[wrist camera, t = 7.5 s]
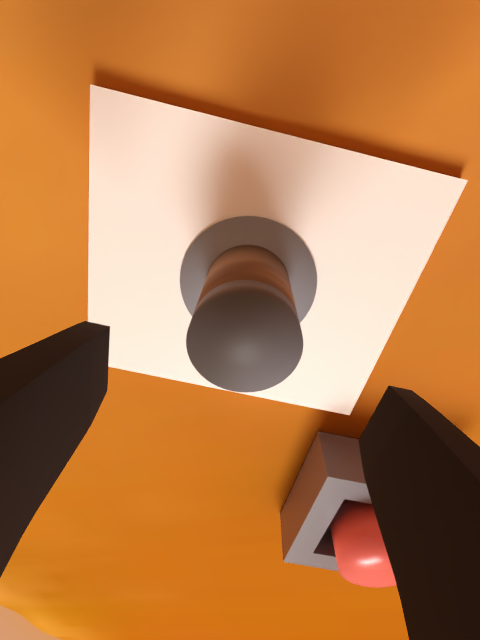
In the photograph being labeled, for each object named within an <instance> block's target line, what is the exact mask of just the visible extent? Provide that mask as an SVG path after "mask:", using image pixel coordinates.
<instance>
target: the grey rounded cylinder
mask: <svg viewBox="0 0 480 640" xmlns="http://www.w3.org/2000/svg"><path fill="white" fill-rule="evenodd" d="M186 348H187V353H188V356H189V359H190V361H191V363H192V364H193V366H194V367H195V369H196V370H197V371H198V372H199V374H200V375H201V376H202V377H204V378H205V379H206V380H207V381H209V382H211V383H212V384H214V385H216V386H218V387H220V388H223V389H226V390H230V391H235V392H257V391H262V390H266V389H269V388H271V387H274V386H275V385H277V384H279V383H281V382H282V381H284V380H285V379H286V378H287V377H288V376H290V375H291V373H292V372H293V371H294V370H295V368H296V367H297V365H298V363H299V361H300V359H301V356H302V352H303V335H302V331H301V326H300V322H299V318H298V314H297V310H296V306H295V301H294V297H293V293H292V289H291V285H290V281H289V276H288V273H287V270H286V268H285V266H284V264H283V262H282V261H281V260H280V259H279V258H278V256H276V255H275V254H274V253H273V252H271V251H269V250H268V249H266V248H263V247H260V246H256V245H239V246H235V247H232V248H230V249H228V250H226V251H224V252H223V253H222V254H220V255H219V256H218V257H217V258H216V259H215V261H214V262H213V263H212V265H211V267H210V269H209V272H208V275H207V277H206V280H205V283H204V286H203V288H202V291H201V294H200V297H199V299H198V302H197V305H196V308H195V311H194V313H193V316H192V319H191V322H190V324H189V327H188V331H187V335H186Z"/></svg>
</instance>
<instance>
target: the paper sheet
mask: <svg viewBox="0 0 480 640" xmlns="http://www.w3.org/2000/svg"><path fill="white" fill-rule="evenodd" d="M467 181H468V180H464V179H460V178H456V177H452V176H448V175H444V174H440V173H436V172H432V171H428V170H424V169H421V168H417V167H413V166H409V165H405V164H401V163H397V162H393V161H389V160H385V159H381V158H377V157H373V156H370V155H366V154H362V153H358V152H354V151H350V150H346V149H342V148H338V147H334V146H330V145H326V144H322V143H319V142H315V141H311V140H307V139H303V138H299V137H295V136H291V135H287V134H283V133H279V132H275V131H271V130H268V129H264V128H260V127H256V126H252V125H248V124H244V123H240V122H236V121H232V120H228V119H224V118H221V117H217V116H213V115H209V114H205V113H201V112H197V111H193V110H189V109H185V108H181V107H177V106H173V105H170V104H166V103H162V102H158V101H154V100H150V99H146V98H142V97H138V96H134V95H130V94H126V93H122V92H119V91H115V90H111V89H107V88H103V87H99V86H95V85H91V84H90V153H89V260H88V322H92V323H97V324H101V325H106V326H110V339H109V361H108V367H113V368H118V369H123V370H128V371H133V372H138V373H143V374H148V375H153V376H158V377H163V378H168V379H173V380H178V381H182V382H187V383H192V384H197V385H202V386H207V387H212V388H217V389H222V390H226V389H223V388H220V387H218V386H216V385H214V384H212V383H211V382H209V381H207V380H206V379H205V378H204V377H202V376H201V375H200V374H199V372H198V371H197V370H196V369H195V367H194V366H193V364H192V363H191V361H190V359H189V356H188V353H187V348H186V335H187V331H188V327H189V324H190V322H191V319H192V316H193V313H194V311H195V308H196V305H197V302H198V299H199V297H200V294H201V291H202V288H203V286H204V283H205V280H206V277H207V275H208V272H209V269H210V267H211V265H212V263H213V262H214V261H215V259H216V258H217V257H218V256H219V255H220V254H222V253H223V252H224V251H226V250H228V249H230V248H232V247H235V246H239V245H256V246H260V247H263V248H266V249H268V250H269V251H271V252H273V253H274V254H275V255H276V256H278V258H279V259H280V260H281V261H282V262H283V264H284V266H285V268H286V270H287V273H288V276H289V281H290V285H291V289H292V293H293V297H294V301H295V306H296V310H297V314H298V318H299V322H300V326H301V331H302V335H303V352H302V356H301V359H300V361H299V363H298V365H297V367H296V368H295V370H294V371H293V372H292V373H291V375H290V376H288V377H287V378H286V379H285V380H284V381H282V382H281V383H279V384H277V385H275V386H274V387H271V388H269V389H266V390H262V391H257V392H237V393H242V394H247V395H252V396H257V397H261V398H266V399H271V400H276V401H281V402H286V403H291V404H296V405H301V406H306V407H311V408H316V409H321V410H326V411H331V412H335V413H340V414H345V415H350V413H351V411H352V409H353V407H354V405H355V403H356V401H357V400H358V398H359V396H360V394H361V392H362V390H363V388H364V386H365V384H366V382H367V380H368V378H369V376H370V374H371V372H372V370H373V368H374V366H375V364H376V362H377V360H378V358H379V356H380V354H381V352H382V350H383V348H384V346H385V344H386V342H387V340H388V338H389V336H390V334H391V332H392V330H393V328H394V326H395V324H396V322H397V320H398V318H399V316H400V314H401V312H402V310H403V308H404V306H405V304H406V302H407V300H408V298H409V296H410V294H411V292H412V290H413V288H414V286H415V284H416V282H417V280H418V278H419V276H420V274H421V272H422V270H423V269H424V267H425V265H426V263H427V261H428V259H429V257H430V255H431V253H432V251H433V249H434V247H435V245H436V243H437V241H438V239H439V237H440V235H441V233H442V231H443V229H444V227H445V225H446V223H447V221H448V219H449V217H450V215H451V213H452V211H453V209H454V207H455V205H456V203H457V201H458V199H459V197H460V195H461V193H462V191H463V189H464V187H465V185H466V183H467ZM227 391H230V390H227ZM232 392H235V391H232Z"/></svg>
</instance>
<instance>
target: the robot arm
mask: <svg viewBox="0 0 480 640" xmlns="http://www.w3.org/2000/svg"><path fill="white" fill-rule="evenodd" d="M109 339H110V326H106V325H101V324H97V323H92V322H87V321H84V322H82V323H79V324H76V325H74V326H72V327H70V328H67V329H65V330H63V331H61V332H58V333H56V334H54V335H52V336H50V337H47V338H45V339H43V340H41V341H39V342H37V343H34V344H32V345H30V346H28V347H25V348H23V349H21V350H19V351H16V352H14V353H12V354H10V355H7V356H5V357H3V358H0V577H1V575H2V573H3V571H4V569H5V567H6V566H7V564H8V562H9V560H10V558H11V556H12V554H13V552H14V550H15V548H16V546H17V544H18V542H19V541H20V539H21V537H22V535H23V533H24V531H25V530H26V528H27V526H28V525H29V523H30V521H31V520H32V518H33V516H34V514H35V513H36V511H37V510H38V508H39V506H40V505H41V503H42V502H43V500H44V499H45V497H46V495H47V494H48V492H49V491H50V489H51V488H52V486H53V484H54V483H55V481H56V480H57V478H58V477H59V475H60V473H61V472H62V470H63V469H64V467H65V466H66V464H67V462H68V461H69V459H70V458H71V456H72V455H73V453H74V451H75V450H76V448H77V447H78V445H79V443H80V442H81V440H82V439H83V437H84V435H85V434H86V432H87V431H88V429H89V427H90V426H91V424H92V422H93V420H94V418H95V416H96V413H97V411H98V409H99V407H100V405H101V403H102V401H103V398H104V396H105V394H106V392H107V384H108V361H109ZM359 448H360V455H361V461H362V467H363V472H364V478H365V482H366V485H367V489H368V492H369V495H370V499H371V502H372V505H373V509H374V512H375V515H376V519H377V522H378V525H379V528H380V531H381V535H382V538H383V541H384V544H385V548H386V551H387V554H388V557H389V561H390V564H391V567H392V570H393V574H394V577H395V581H396V584H397V588H398V592H399V595H400V599H401V603H402V608H403V613H404V617H405V622H406V626H407V631H408V636H409V640H480V447H479V446H478V445H477V444H476V443H474V442H473V441H472V440H471V439H470V438H469V437H467V436H466V435H465V434H464V433H463V432H462V431H460V430H459V429H458V428H457V427H456V426H455V425H454V424H452V423H451V422H450V421H449V420H448V419H447V418H445V417H444V416H443V415H442V414H441V413H440V412H438V411H437V410H436V409H435V408H434V407H432V406H431V405H430V404H429V403H427V402H426V401H425V400H424V399H422V398H421V397H420V396H418V395H417V394H416V393H414V392H413V391H411V390H407V389H403V388H398V387H393V386H388V388H387V390H386V392H385V393H384V395H383V397H382V399H381V401H380V402H379V404H378V406H377V408H376V410H375V412H374V413H373V415H372V417H371V419H370V421H369V423H368V424H367V426H366V428H365V430H364V432H363V433H362V435H361V437H360V439H359Z"/></svg>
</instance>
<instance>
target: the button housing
mask: <svg viewBox="0 0 480 640" xmlns="http://www.w3.org/2000/svg"><path fill="white" fill-rule="evenodd" d="M346 499H347V500H352V501H358V502H363V503H369V504H372V502H371V499H370V495H369V492H368V489H367V485H366V482H365V478H364V472H363V467H362V461H361V455H360V448H359V439H356V438H350V437H345V436H340V435H335V434H330V433H325V432H320V431H318V432H317V434H316V437H315V439H314V441H313V443H312V445H311V448H310V450H309V452H308V454H307V456H306V458H305V461H304V463H303V465H302V467H301V469H300V472H299V474H298V476H297V478H296V480H295V483H294V485H293V487H292V489H291V491H290V493H289V496H288V498H287V500H286V502H285V504H284V507H283V509H282V511H281V513H280V517H281V533H282V549H283V562H288V563H294V564H300V565H306V566H312V567H318V568H323V569H329V570H335V571H338V566H337V560H336V555H335V550H334V545H333V539H332V534H331V529H330V523H331V521H332V519H333V518H334V516H335V514H336V513H337V511H338V509H339V508H340V506H341V504H342V502H343V501H344V500H346Z"/></svg>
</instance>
